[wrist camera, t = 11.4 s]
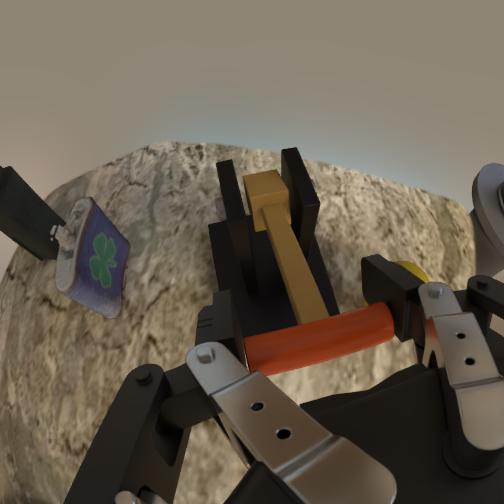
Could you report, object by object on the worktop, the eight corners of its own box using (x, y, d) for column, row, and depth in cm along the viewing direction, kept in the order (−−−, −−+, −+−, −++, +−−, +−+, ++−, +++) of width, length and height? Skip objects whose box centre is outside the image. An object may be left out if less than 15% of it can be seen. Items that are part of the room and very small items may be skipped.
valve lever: (387, 352, 11) (401, 318, 9) (255, 389, 10) (245, 362, 9) (303, 196, 20) (301, 164, 18) (224, 212, 20) (216, 181, 18)
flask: (122, 320, 28) (58, 284, 18) (99, 319, 28) (32, 284, 18) (133, 238, 32) (86, 180, 22) (112, 240, 32) (61, 185, 22)
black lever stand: (337, 318, 26) (389, 257, 14) (230, 344, 26) (189, 304, 14) (302, 210, 31) (314, 105, 19) (210, 230, 31) (172, 132, 19)
